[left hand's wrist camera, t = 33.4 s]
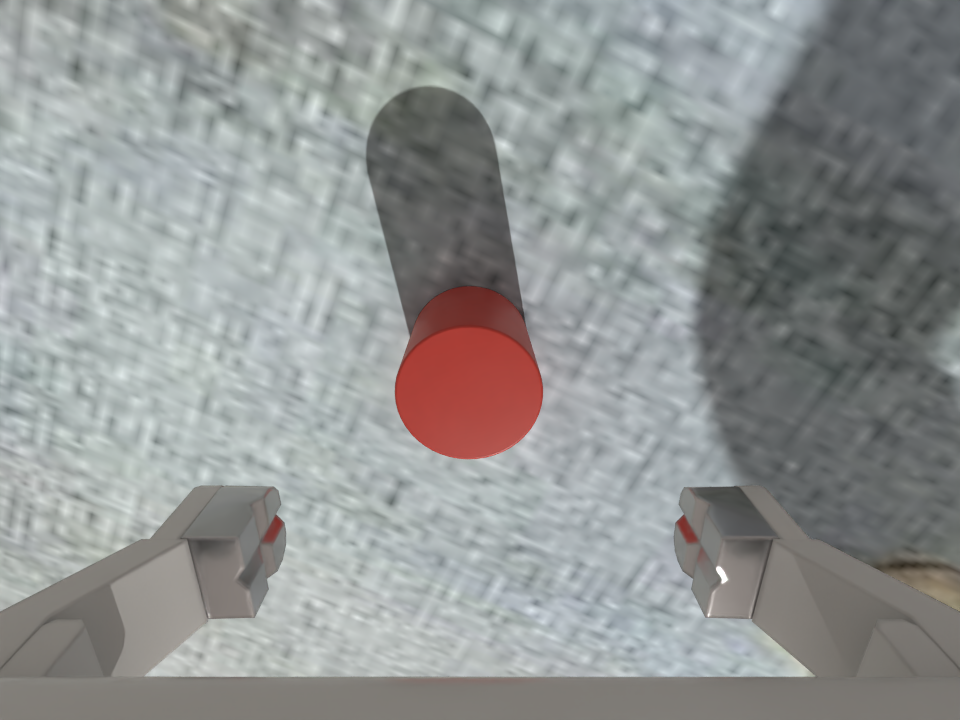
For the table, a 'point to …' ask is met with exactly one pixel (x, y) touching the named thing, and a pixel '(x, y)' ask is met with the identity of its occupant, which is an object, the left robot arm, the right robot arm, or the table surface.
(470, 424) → the canister
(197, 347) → the table surface
